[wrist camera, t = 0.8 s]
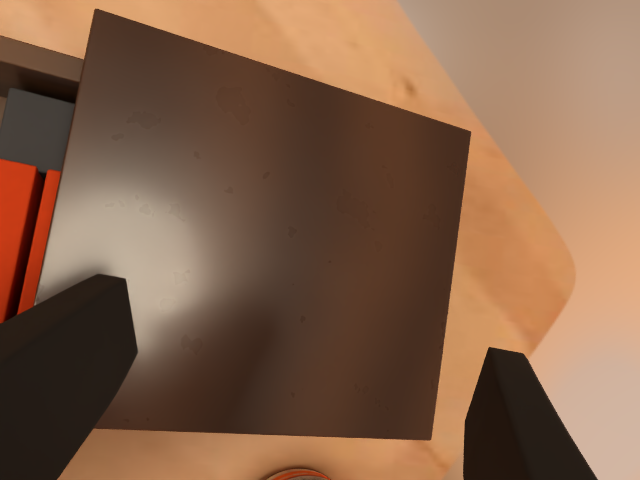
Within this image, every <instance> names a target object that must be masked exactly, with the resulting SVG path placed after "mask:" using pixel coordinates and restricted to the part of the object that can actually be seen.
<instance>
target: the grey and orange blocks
mask: <svg viewBox="0 0 640 480" xmlns="http://www.w3.org/2000/svg"><path fill="white" fill-rule="evenodd" d="M74 106H75V104H74V103H70V102H66V101H62V100H58V99H55V98H51V97H47V96H43V95H39V94H35V93H31V92H27V91H24V90H20V89H16V88H10V89H9V91H8V96H7V100H6V105H5V109H4V114H3V118H2V123H1V127H0V324H1V323H3V322H5V321H7V320H8V319H10V318H12V317H14V316H15V315H16V314H17V315H18V314H20V313H22V312H24V311H26V310H28V309H30V308H31V307H33V304H34V299H35V294H36V289H37V284H38V280H39V275H40V270H41V265H42V260H43V255H44V251H45V246H46V241H47V236H48V231H49V227H50V222H51V217H52V212H53V207H54V202H55V198H56V193H57V188H58V183H59V178H60V173H61V169H62V164H63V159H64V154H65V149H66V145H67V140H68V135H69V130H70V125H71V120H72V116H73V111H74Z"/></svg>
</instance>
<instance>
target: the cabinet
mask: <svg viewBox="0 0 640 480" xmlns="http://www.w3.org/2000/svg"><path fill="white" fill-rule="evenodd" d="M470 137H471V131H468V130H465V129H462V128H459V127H456V126H453V125H450V124H447V123H443V122H440V121H437V120H434V119H431V118H428V117H425V116H422V115H419V114H416V113H413V112H410V111H407V110H404V109H401V108H398V107H395V106H392V105H389V104H386V103H383V102H380V101H376V100H373V99H370V98H367V97H364V96H361V95H358V94H355V93H352V92H349V91H346V90H343V89H340V88H337V87H334V86H331V85H328V84H325V83H322V82H319V81H316V80H313V79H309V78H306V77H303V76H300V75H297V74H294V73H291V72H288V71H285V70H282V69H279V68H276V67H273V66H270V65H267V64H264V63H261V62H258V61H255V60H252V59H249V58H245V57H242V56H239V55H236V54H233V53H230V52H227V51H224V50H221V49H218V48H215V47H212V46H209V45H206V44H203V43H200V42H197V41H194V40H191V39H188V38H185V37H182V36H178V35H175V34H172V33H169V32H166V31H163V30H160V29H157V28H154V27H151V26H148V25H145V24H142V23H139V22H136V21H133V20H130V19H127V18H124V17H121V16H118V15H114V14H111V13H108V12H105V11H102V10H99V9H95V10H94V14H93V19H92V24H91V29H90V34H89V38H88V43H87V48H86V53H85V58H84V62H83V67H82V72H81V77H80V82H79V87H78V91H77V96H76V101H75V106H74V111H73V116H72V120H71V125H70V130H69V135H68V140H67V145H66V149H65V154H64V159H63V164H62V169H61V173H60V178H59V183H58V188H57V193H56V198H55V202H54V207H53V212H52V217H51V222H50V227H49V231H48V236H47V241H46V246H45V251H44V255H43V260H42V265H41V270H40V275H39V280H38V284H37V289H36V294H35V299H34V304H33V306H35V305H37V304H39V303H41V302H43V301H45V300H47V299H49V298H50V297H52V296H54V295H56V294H58V293H60V292H62V291H64V290H66V289H68V288H69V287H71V286H73V285H75V284H77V283H79V282H81V281H83V280H85V279H87V278H90V277H92V276H94V275H96V274H98V273H99V274H104V275H110V276H115V277H120V278H126V282H127V288H128V294H129V300H130V306H131V312H132V318H133V324H134V330H135V336H136V342H137V348H138V354H137V356H136V358H135V360H134V362H133V364H132V366H131V368H130V370H129V372H128V374H127V376H126V378H125V380H124V381H123V383H122V385H121V387H120V389H119V390H118V392H117V394H116V396H115V397H114V399H113V400H112V402H111V403H110V405H109V406H108V408H107V409H106V411H105V412H104V414H103V415H102V416H101V418H100V419H99V421H98V422H97V424H96V425H95V427H94V428H93V429H120V430H148V431H176V432H204V433H232V434H260V435H288V436H317V437H345V438H373V439H401V440H431V438H432V430H433V422H434V414H435V407H436V399H437V391H438V384H439V376H440V368H441V361H442V353H443V345H444V338H445V330H446V322H447V314H448V307H449V299H450V291H451V284H452V276H453V268H454V261H455V253H456V245H457V237H458V230H459V222H460V214H461V207H462V199H463V191H464V184H465V176H466V168H467V160H468V153H469V145H470Z"/></svg>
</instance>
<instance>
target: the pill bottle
mask: <svg viewBox="0 0 640 480" xmlns="http://www.w3.org/2000/svg"><path fill="white" fill-rule="evenodd" d="M267 480H331V479H329V478H328V477H326V476H325V475H323V474H321V473H319V472H316V471H313V470H308V469H291V470H286V471H282V472H280V473H277V474H275V475H273V476H271V477H270V478H268V479H267Z"/></svg>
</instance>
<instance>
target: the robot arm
mask: <svg viewBox="0 0 640 480" xmlns="http://www.w3.org/2000/svg"><path fill="white" fill-rule="evenodd" d="M137 354H138V348H137V342H136V336H135V330H134V324H133V318H132V312H131V306H130V300H129V294H128V288H127V282H126V278H120V277H115V276H110V275H104V274H99V273H98V274H96V275H94V276H92V277H90V278H87V279H85V280H83V281H81V282H79V283H77V284H75V285H73V286H71V287H69V288H68V289H66V290H64V291H62V292H60V293H58V294H56V295H54V296H52V297H50V298H49V299H47V300H45V301H43V302H41V303H39V304H37V305H35V306H33V307H31V308H30V309H28V310H26V311H24V312H22V313H20V314H18V315H16V316H14V317H12V318H10V319H8V320H7V321H5V322H3V323H1V324H0V480H57V479H58V477H59V476H60V475H61V473H62V472H63V470H64V469H65V468H66V466H67V465H68V463H69V462H70V461H71V459H72V458H73V456H74V455H75V453H76V452H77V451H78V449H79V448H80V446H81V445H82V444H83V442H84V441H85V439H86V438H87V436H88V435H89V434H90V432H91V431H92V429H93V428H94V427H95V425H96V424H97V422H98V421H99V419H100V418H101V416H102V415H103V414H104V412H105V411H106V409H107V408H108V406H109V405H110V403H111V402H112V400H113V399H114V397H115V396H116V394H117V392H118V390H119V389H120V387H121V385H122V383H123V381H124V380H125V378H126V376H127V374H128V372H129V370H130V368H131V366H132V364H133V362H134V360H135V358H136V356H137ZM463 477H464V480H598V479H597V478H596V476H595V474H594V473H593V471H592V470H591V468H590V467H589V465H588V464H587V462H586V460H585V459H584V457H583V455H582V454H581V452H580V451H579V449H578V447H577V446H576V444H575V443H574V441H573V439H572V438H571V436H570V435H569V433H568V431H567V429H566V428H565V426H564V424H563V423H562V421H561V419H560V418H559V416H558V414H557V412H556V411H555V409H554V407H553V405H552V403H551V402H550V400H549V398H548V396H547V395H546V393H545V391H544V389H543V387H542V385H541V384H540V382H539V380H538V378H537V377H536V374H535V372H534V371H533V369H532V367H531V365H530V363H529V361H528V359H527V358H526V357H525V355H524V354H523V353H518V352H513V351H508V350H502V349H497V348H492V347H489V348H488V351H487V354H486V357H485V360H484V363H483V367H482V370H481V373H480V376H479V379H478V382H477V385H476V388H475V391H474V394H473V398H472V401H471V404H470V407H469V410H468V413H467V416H466V419H465V433H464V464H463Z"/></svg>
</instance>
